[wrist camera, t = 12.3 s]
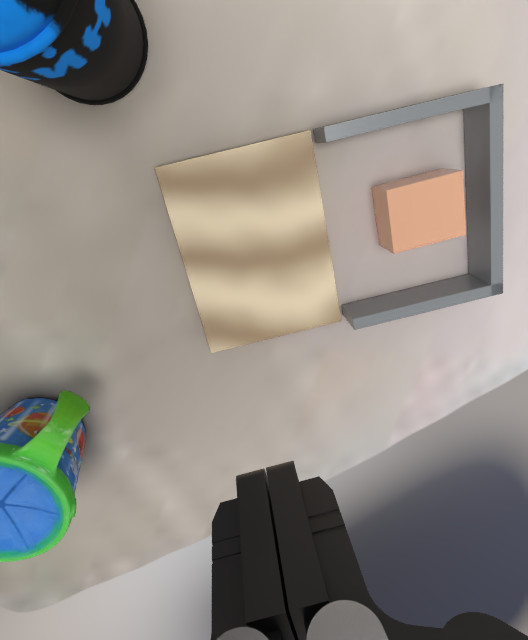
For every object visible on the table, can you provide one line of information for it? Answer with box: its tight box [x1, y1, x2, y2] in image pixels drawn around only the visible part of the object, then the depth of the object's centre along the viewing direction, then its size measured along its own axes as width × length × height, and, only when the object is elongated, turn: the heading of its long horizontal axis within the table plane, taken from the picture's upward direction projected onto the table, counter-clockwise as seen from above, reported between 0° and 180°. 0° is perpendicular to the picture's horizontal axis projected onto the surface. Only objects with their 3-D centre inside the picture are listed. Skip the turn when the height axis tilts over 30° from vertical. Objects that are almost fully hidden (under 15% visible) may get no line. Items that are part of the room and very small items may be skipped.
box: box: [314, 84, 503, 330], centre depth 34 cm, size 16×13×4 cm
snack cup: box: [0, 391, 90, 562], centre depth 36 cm, size 16×11×10 cm
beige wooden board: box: [155, 130, 341, 353], centre depth 35 cm, size 16×12×1 cm
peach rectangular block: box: [372, 169, 466, 253], centre depth 34 cm, size 5×6×4 cm
